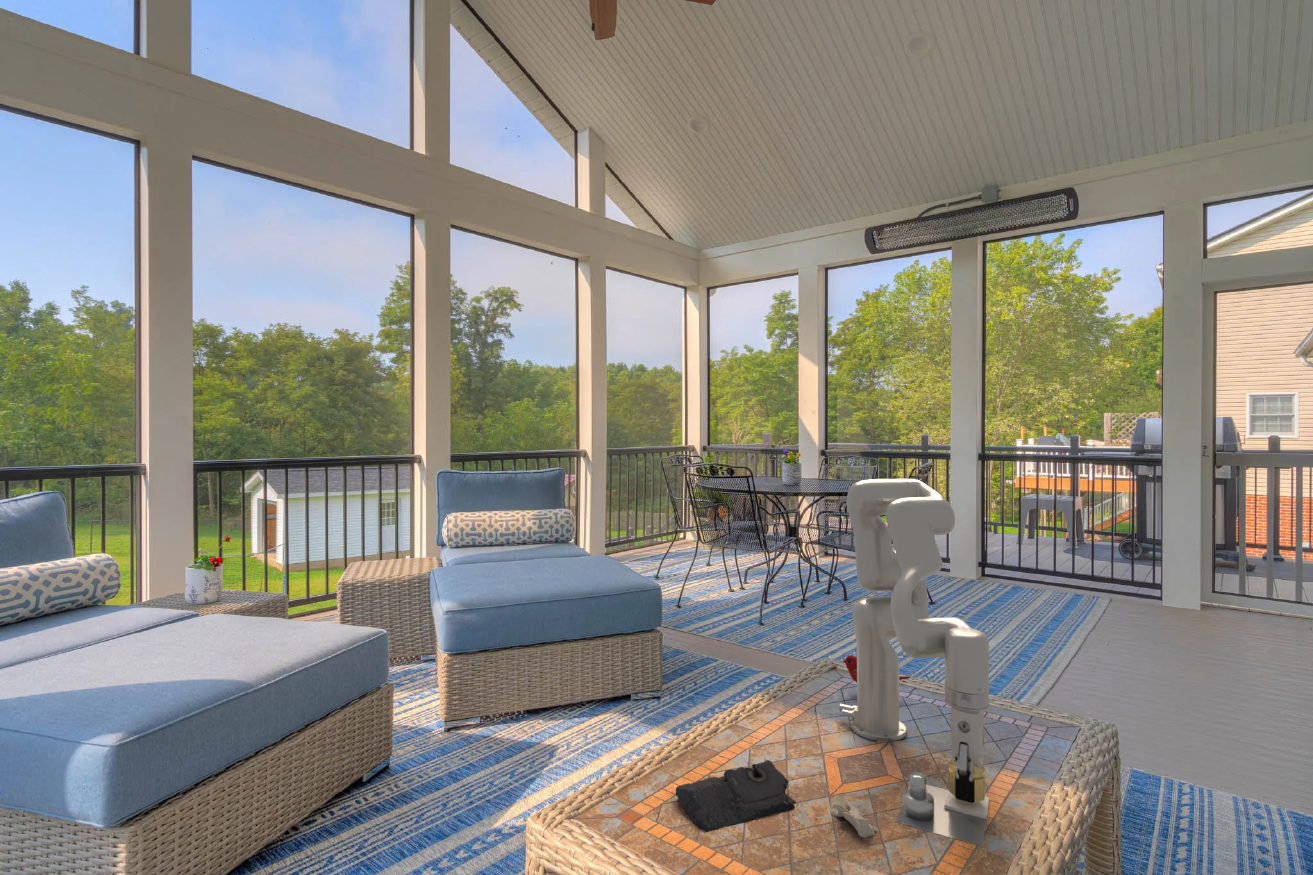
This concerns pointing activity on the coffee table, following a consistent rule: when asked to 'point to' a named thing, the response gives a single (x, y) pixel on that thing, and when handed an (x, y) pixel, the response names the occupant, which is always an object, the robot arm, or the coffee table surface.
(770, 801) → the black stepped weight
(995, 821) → the coffee table surface
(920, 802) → the grey knob
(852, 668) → the decorative bird figurine
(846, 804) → the beige bone fragment
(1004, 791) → the coffee table surface
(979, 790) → the gold lidded jar
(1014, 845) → the coffee table surface
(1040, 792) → the coffee table surface
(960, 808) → the pad
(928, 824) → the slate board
